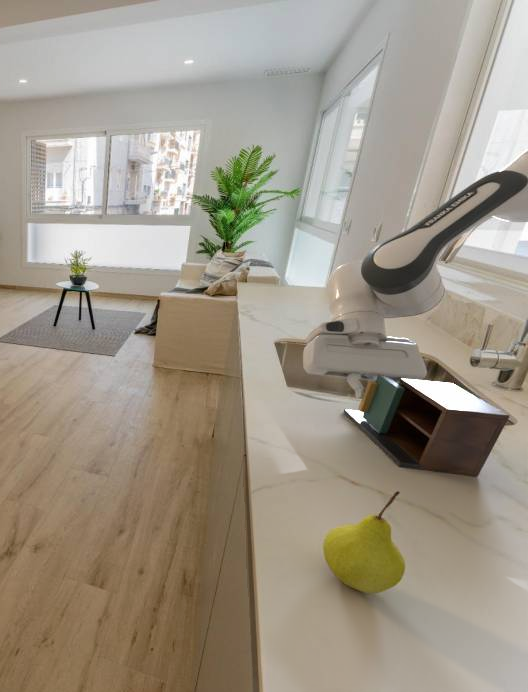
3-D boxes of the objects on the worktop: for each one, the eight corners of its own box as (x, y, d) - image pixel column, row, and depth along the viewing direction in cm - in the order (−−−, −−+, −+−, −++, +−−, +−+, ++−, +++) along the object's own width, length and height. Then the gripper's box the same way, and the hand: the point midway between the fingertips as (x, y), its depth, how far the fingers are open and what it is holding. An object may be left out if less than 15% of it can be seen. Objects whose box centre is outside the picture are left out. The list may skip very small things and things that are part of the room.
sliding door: (369, 417, 82) (385, 375, 79) (386, 433, 77) (405, 388, 73) (355, 416, 82) (371, 373, 79) (371, 431, 77) (389, 387, 74)
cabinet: (404, 419, 84) (426, 368, 80) (477, 476, 67) (510, 415, 63) (342, 412, 86) (360, 362, 82) (398, 466, 69) (425, 406, 65)
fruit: (355, 614, 44) (396, 523, 39) (300, 562, 50) (331, 479, 45) (405, 601, 46) (451, 512, 41) (346, 552, 52) (380, 470, 47)
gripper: (405, 346, 87) (417, 410, 82) (297, 337, 91) (302, 397, 86) (427, 332, 82) (442, 399, 77) (311, 323, 85) (317, 386, 80)
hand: (367, 398), depth 81 cm, fingers closed, pressing on sliding door
